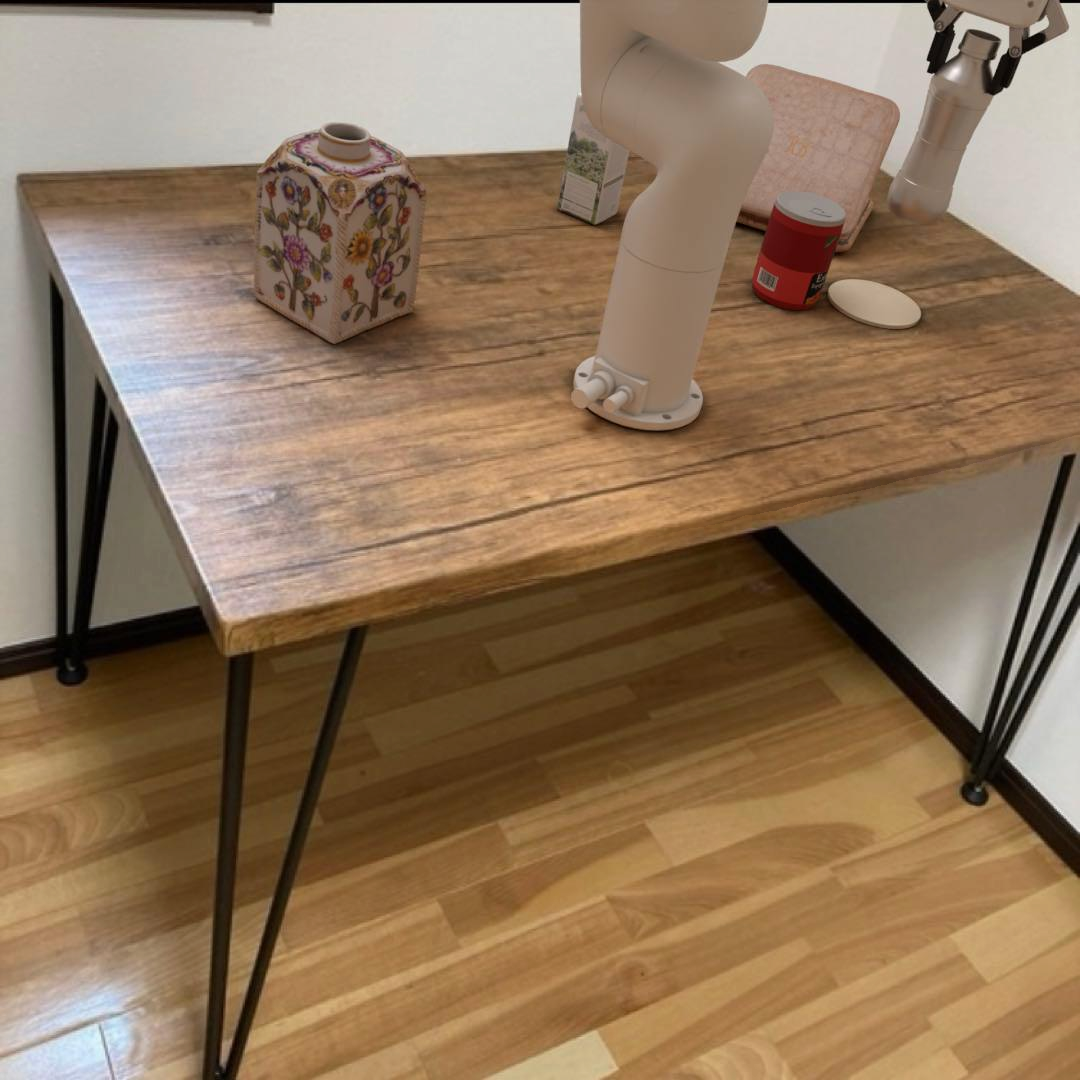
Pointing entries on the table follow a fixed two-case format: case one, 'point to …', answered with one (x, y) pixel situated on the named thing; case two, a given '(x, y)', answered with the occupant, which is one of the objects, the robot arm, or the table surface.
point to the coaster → (874, 304)
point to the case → (820, 146)
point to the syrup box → (591, 171)
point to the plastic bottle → (945, 131)
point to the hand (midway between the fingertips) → (964, 80)
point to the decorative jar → (338, 231)
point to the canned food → (797, 249)
